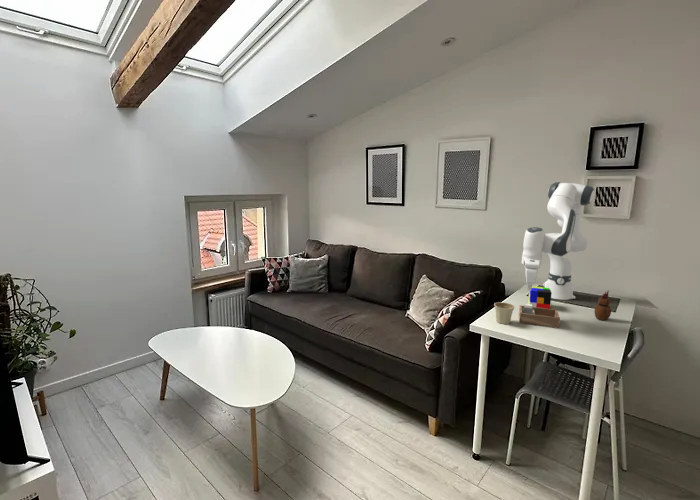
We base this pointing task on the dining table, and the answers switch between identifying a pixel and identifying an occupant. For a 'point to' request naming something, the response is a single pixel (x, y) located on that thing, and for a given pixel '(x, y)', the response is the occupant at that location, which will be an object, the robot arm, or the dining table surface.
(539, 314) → the walled box
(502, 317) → the flower pot
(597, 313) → the wooden figurine
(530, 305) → the connector
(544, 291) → the puzzle toy
